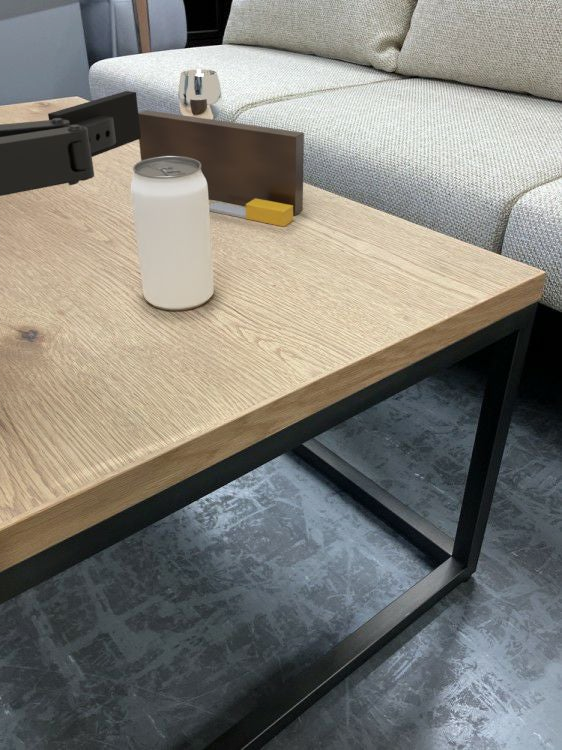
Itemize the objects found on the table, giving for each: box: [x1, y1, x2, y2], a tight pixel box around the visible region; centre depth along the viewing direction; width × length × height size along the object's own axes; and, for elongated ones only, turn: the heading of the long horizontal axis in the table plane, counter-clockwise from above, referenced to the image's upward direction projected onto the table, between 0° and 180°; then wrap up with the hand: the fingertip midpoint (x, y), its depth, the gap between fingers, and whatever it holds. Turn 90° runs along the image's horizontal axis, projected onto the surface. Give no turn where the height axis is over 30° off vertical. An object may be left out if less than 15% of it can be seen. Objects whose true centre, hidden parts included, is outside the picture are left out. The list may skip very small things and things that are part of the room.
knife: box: [209, 198, 294, 227], centre depth 81 cm, size 10×2×2 cm, turn 61°
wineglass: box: [177, 68, 223, 120], centre depth 94 cm, size 6×6×12 cm
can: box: [130, 156, 215, 312], centre depth 61 cm, size 6×6×12 cm
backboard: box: [138, 109, 305, 216], centre depth 84 cm, size 22×2×9 cm, turn 61°
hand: (51, 102), depth 45 cm, fingers open, 13 cm apart
